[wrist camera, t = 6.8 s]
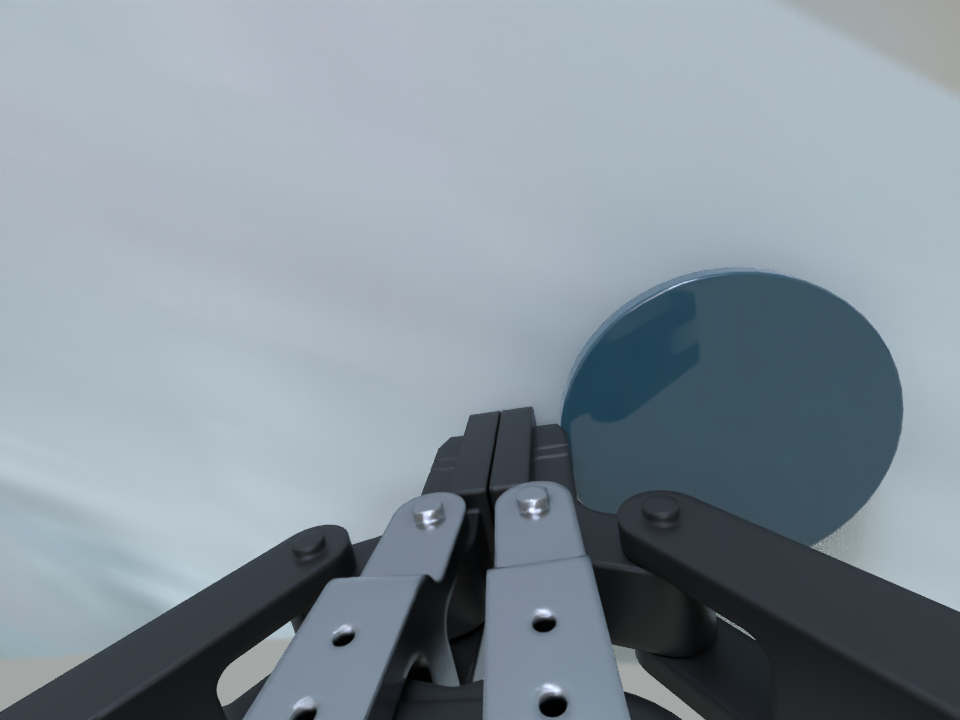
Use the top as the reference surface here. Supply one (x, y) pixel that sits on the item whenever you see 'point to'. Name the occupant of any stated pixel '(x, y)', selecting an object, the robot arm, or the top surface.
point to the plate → (736, 402)
